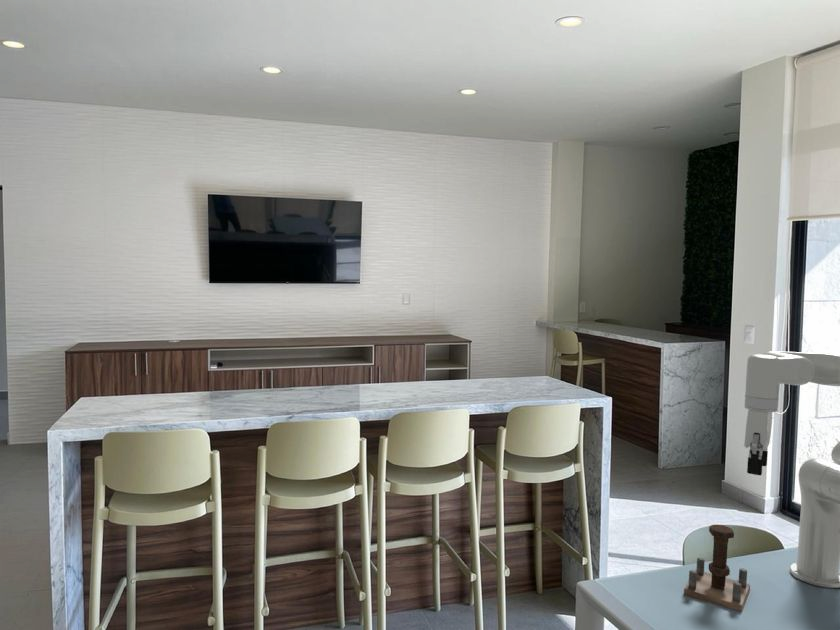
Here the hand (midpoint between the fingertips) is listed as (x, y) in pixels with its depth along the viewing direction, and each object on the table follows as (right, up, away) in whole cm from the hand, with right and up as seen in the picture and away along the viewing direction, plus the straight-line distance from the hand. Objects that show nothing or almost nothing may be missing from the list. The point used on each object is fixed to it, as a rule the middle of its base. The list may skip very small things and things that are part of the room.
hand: (757, 469), depth 162 cm
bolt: (-11, -29, -3) cm, 31 cm away
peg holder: (-12, -30, -3) cm, 32 cm away
